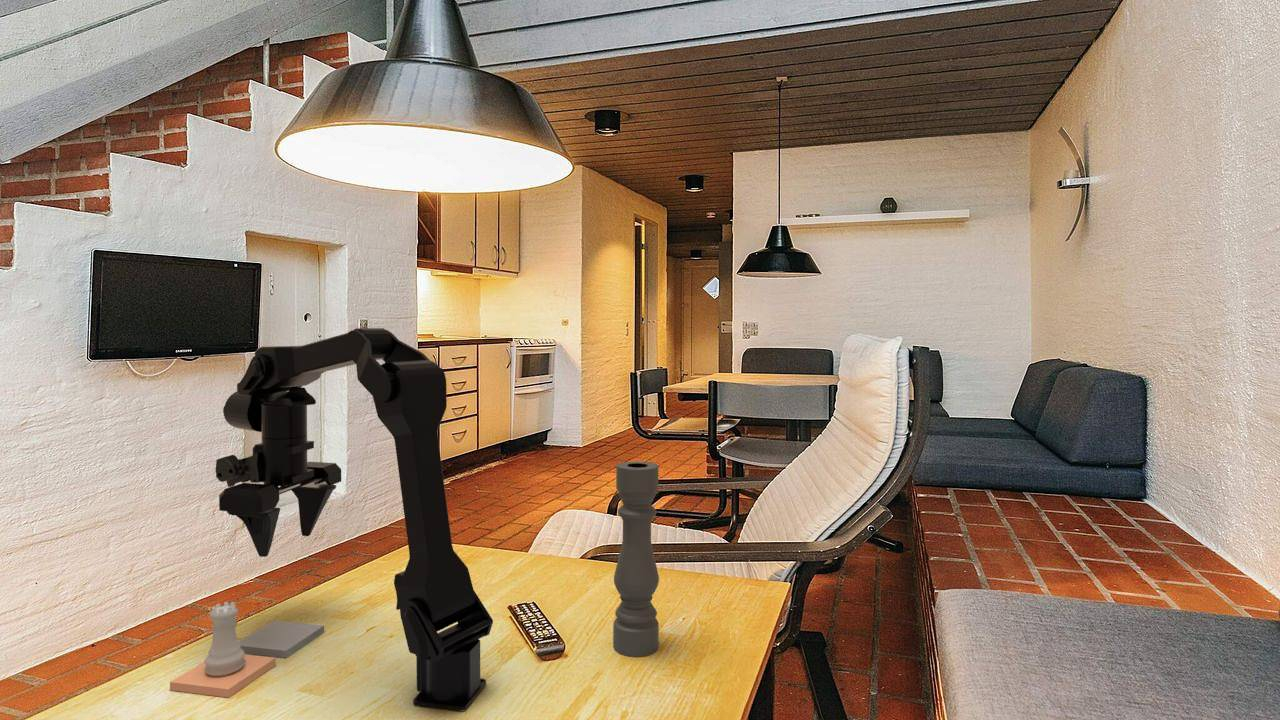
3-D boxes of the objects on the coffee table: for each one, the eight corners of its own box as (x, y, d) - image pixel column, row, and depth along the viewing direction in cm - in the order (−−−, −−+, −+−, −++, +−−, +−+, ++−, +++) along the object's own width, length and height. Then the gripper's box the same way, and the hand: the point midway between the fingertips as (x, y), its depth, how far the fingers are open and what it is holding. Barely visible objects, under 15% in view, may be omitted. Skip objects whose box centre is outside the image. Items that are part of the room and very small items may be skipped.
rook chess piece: (236, 657, 92) (235, 595, 91) (252, 668, 89) (250, 604, 88) (198, 670, 88) (196, 606, 88) (213, 682, 85) (211, 616, 85)
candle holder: (605, 651, 96) (607, 467, 95) (623, 633, 102) (625, 459, 101) (648, 660, 94) (650, 471, 93) (664, 640, 100) (666, 463, 98)
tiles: (324, 632, 102) (324, 625, 101) (228, 697, 84) (228, 689, 84) (274, 626, 103) (274, 620, 103) (169, 690, 85) (169, 682, 85)
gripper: (276, 423, 110) (277, 522, 111) (180, 444, 92) (182, 563, 93) (343, 426, 109) (343, 528, 110) (258, 449, 90) (259, 570, 91)
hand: (285, 545), depth 101 cm, fingers open, 9 cm apart
